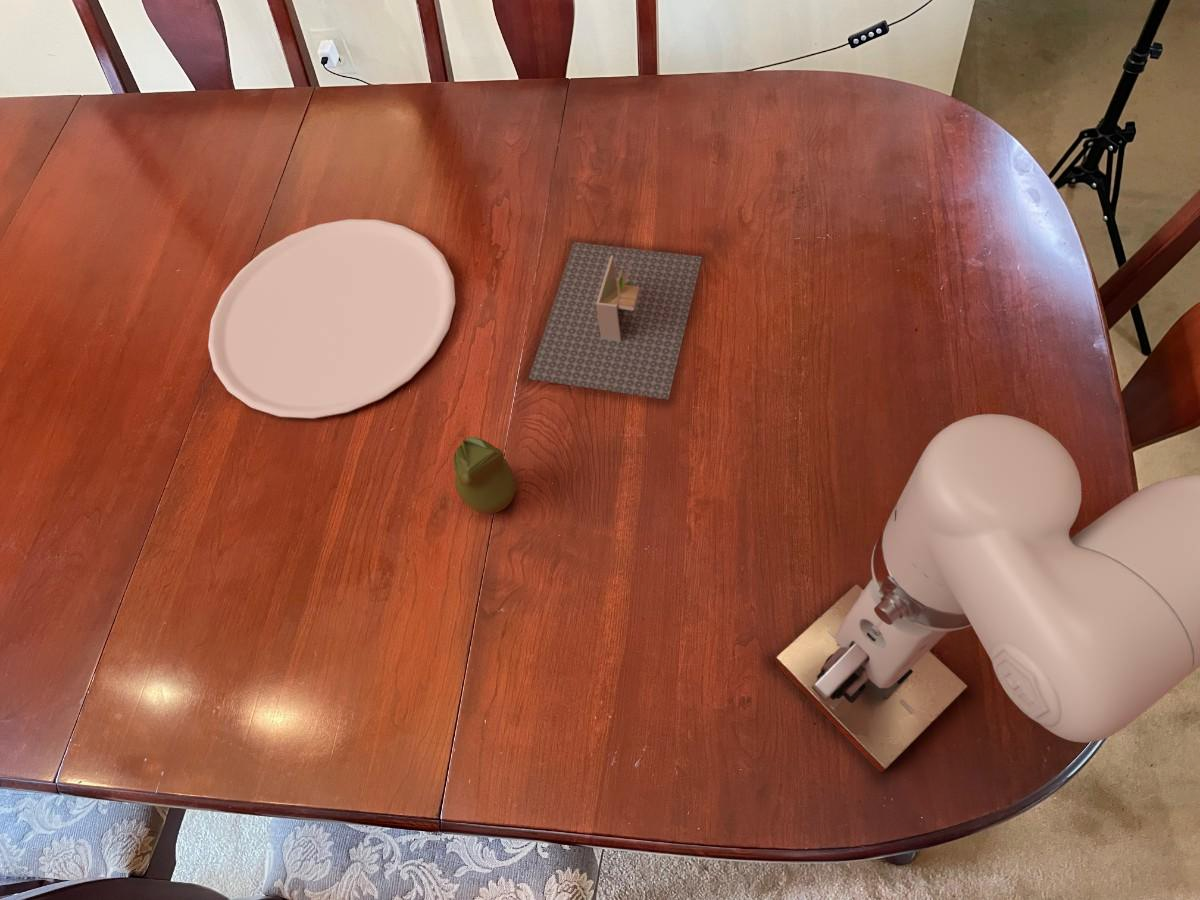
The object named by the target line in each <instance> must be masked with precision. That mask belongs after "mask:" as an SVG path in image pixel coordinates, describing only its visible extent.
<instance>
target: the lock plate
mask: <svg viewBox="0 0 1200 900" xmlns="http://www.w3.org/2000/svg"><path fill="white" fill-rule="evenodd" d="M863 590H864V589H863V588H862V587H861V586H860V585H859V584H857V583H855V584H854V585H853V586H852V587H851V588H850V589H849V590H848V591H846V592H845V593H844V594H843V595H842V596H841V597H840V598H838V599H837V601H836V602H835V603H834V604H832V605H831V606H830V607H829V608H828V609H827V610H826V611H825V612H823V614H821V615H820V616H819V617H818V618H817V619H816V620H814V622H812V624H810V625H809V626H808V627H807V628H806V629H805V630H803V632H801V634H799V635H798V636H797V637H796V638H795V639H794V640H793V641H791V642H790V644H788V645H787V646H786V647H785V648H784V649H783V650H782V651H781V652H779V654H777V656H775V659H774V665H775V666H776V667H777V668H778V669H779V670H780V671H781V672H782V673H783V674H784V675H785V676H786V677H787V679H789V681H790V682H792V683H793V684H794V686H795V687H796V688H798V690H800V692H802V694H803V695H804V696H805V697H806V698H807V699H808V700H809V701H810V702H811V703H812V704H813V705H814V706H815V707H816V708H817V709H818V710H819V711H820V712H821V714H823V715H824V716H825V717H826V718H827V720H828V721H829V722H831V723H832V725H833V726H834V727H835V728H836V729H837V730H838V731H839V732H840V733H841V734H842V735H843V736H844V737H845V738H846V739H847V740H848V741H849V742H850V743H851V744H852V745H853V746H854V748H856V749H857V751H858V752H860V753H861V755H862V756H863V757H865V759H866V760H867V761H868V762H869V763H870V764H871V765H872V766H873V767H874V768H875V769H876V770H877V771H878V772H879V773H880V774H881V773H883V772H884V771H885V770H887V768H889V766H890V765H891V764H893V762H894V761H895V760H896V759H897V758H899V756H900V755H901V754H902V753H903V752H904V751H905V750H906V749H907V748H909V746H910V745H911V744H912V743H913V742H915V740H916V739H917V738H918V737H919V736H921V734H922V733H923V732H924V731H925V730H926V729H927V728H928V727H929V726H930V725H931V724H932V723H933V722H934V721H935V720H936V719H937V718H938V717H939V716H940V715H941V714H942V713H943V712H944V711H945V710H946V709H947V708H949V706H950V705H951V704H952V703H953V702H954V701H955V700H956V699H957V698H958V697H959V696H960V695H961V694H962V693H963V692H964V691H965V690H966V689H967V688H968V685H967V684H966V683H965V682H964V681H962V679H960V677H959V676H957V675H956V674H955V673H954V672H953V671H952V670H951V669H949V667H948V666H946V665H945V664H944V663H943V662H942V661H941V660H940V659H939V658H938V657H937V656H936V655H935V654H933V652H931V650H929V651H928V652H927V653H926V654H925V655H924V656H923V657H922V658H921V659H920V660H919V661H918V662H917V663H916V664H915V665H914V666H913V667H912V668H911V670H913V673H912V674H911V675H910V676H909V677H908V679H907V680H906V681H905V682H904V683H903V684H902V686H901V687H900V688H899V689H898V690H897V691H896V692H895V693H894V694H893V695H892V696H891V697H890V698H889V699H886V698H885V697H884V696H883V695H882V694H881V693H880V692H879V691H878V690H877V689H876V688H875V687H874V686H873V685H871V684H870V683H869V682H868V681H866V682H865V684H866V686H865V687H866V688H865V689H864V691H863V692H862V693H861V694H860V696H859V697H858V698H857V699H856V700H855V701H854V702H853V703H850V702H849V701H848V700H847V699H846V698H845V697H844V696H842V697H841V698H839V699H837V698H836V699H834V700H832V699H831V698H829V699H828V700H826V701H824V700H823V699H822V698H821V697H820V696H819V695H818V694H817V693H816V692H815V691H814V690H813V689H812V688H811V687H812V686H813V685H814V684H815V683H816V680H817V679H818V678H817V676H818V674H820V673H821V669H822V666H823V665H824V664H825V662H826V660H827V658H828V657H829V656H830V655H831V654H834V653H835V652H836V651H837V650H838V649H839V648H840V646H839V647H838V646H837V643H836V636H837V632H838V630H839V628H840V626H841V624H842V623H843V621H844V619H845V618H846V616H847V614H848V613H849V611H850V610H851V608H852V607H853V605H854V604H855V602H856V601H857V599H858V598H859V596H860V595H861V592H862V591H863ZM855 673H856V674H857V675H858V676H860V675H861V674H860V673H859V672H858V671H857V670H856V671H855Z"/></svg>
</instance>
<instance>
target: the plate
mask: <svg viewBox="0 0 1200 900" xmlns="http://www.w3.org/2000/svg"><path fill="white" fill-rule="evenodd" d="M455 288H456V287H455V277H454V274H453V273H452V270H451V269H450V266H449V264H448V262H447V259H446V257H445V255H444V254H443V253H442V252H441V251H440V250H439V249H438V248H437V247H436V246H435V245H434V244H433V243H432V241H430V240H429V239H428V238H427V237H426V236H424V235H422V234H420V233H418V232H416V231H415V230H412V229H410V228H409V227H407V226H405V225H401V224H397V223H394V222H389V221H386V220H381V219H366V218H365V219H364V218H363V219H359V218H347V219H342V220H336V221H331V222H325V223H324V222H323V223H319V224H316V225H314V226H311V227H308V228H306V229H302V230H299V231H297V232H294V233H292V234H289V235H288V236H286V237H284V238H282V239H281V240H278V241H277V242H276V243H274V244H272V245H270V246H269V247H267V248H266V249H264V250H262V251H261V252H260V253H259V254H257V256H255V257H254V258H252V260H250V262H248V263H247V264H246V265H245V266H243V268H241V270H239V271H238V272H237V274H236V275H235V277H233V279H232V280H231V282H230V283H229V285H228V286H227V287H226V289H224V291H223V292H222V294H221V295H220V297H219V300H218V303H217V305H216V308H215V310H214V312H213V315H212V317H211V319H210V326H209V335H208V343H207V348H208V352H209V356H210V361H211V365H212V369H213V371H214V373H215V374H216V376H217V377H218V379H219V380H220V382H221V383H222V385H223V386H224V388H225V389H226V390H227V392H228V393H230V394H231V395H232V396H233V397H235V398H237V399H238V400H239V401H241V402H242V403H244V404H245V405H247V406H248V407H249V408H251V409H254V410H256V411H260V412H263V413H266V414H268V415H273V416H274V417H275V416H276V417H278V418H291V419H309V420H311V419H312V420H314V419H319V418H324V417H331V416H337V415H341V414H347V413H351V412H352V411H355V410H358V409H361V408H362V407H365V406H367V405H371V404H373V403H375V402H378V401H380V400H382V399H384V398H385V397H387V396H388V395H390V394H391V393H392V392H394V391H395V390H397V389H398V388H399V389H400V387H402V386H403V385H405V384H406V383H408V382H409V381H411V380H412V379H413V378H414V377H415V376H416V374H418V372H420V370H422V368H424V366H425V365H426V364H428V362H429V361H430V360H431V359H432V358H433V357H434V356H435V354H436V353H437V351H438V349H439V347H440V346H441V344H442V343H443V341H444V339H445V337H446V336H447V333H448V332H449V330H450V327H451V322H452V319H453V314H454V312H455V307H456V292H455V291H456V289H455Z"/></svg>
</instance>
